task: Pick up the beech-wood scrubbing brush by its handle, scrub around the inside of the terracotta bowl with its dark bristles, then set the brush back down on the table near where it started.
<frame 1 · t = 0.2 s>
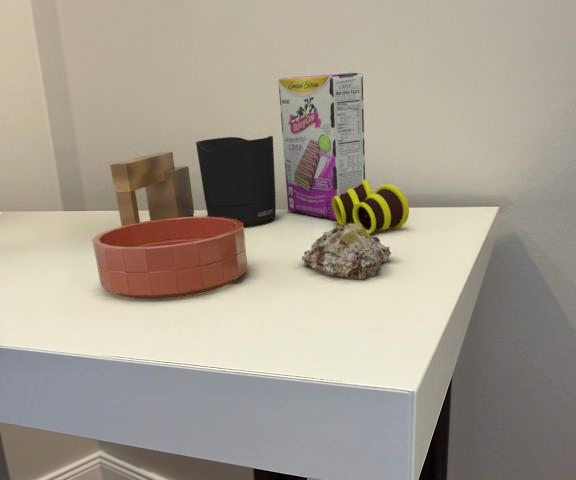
opera glasses: (367, 229, 75), on the table
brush: (158, 232, 82), on the table
candy bar box: (325, 215, 85), on the table
pen holder: (242, 223, 84), on the table
mineral rock: (347, 268, 60), on the table
bowl: (176, 280, 60), on the table
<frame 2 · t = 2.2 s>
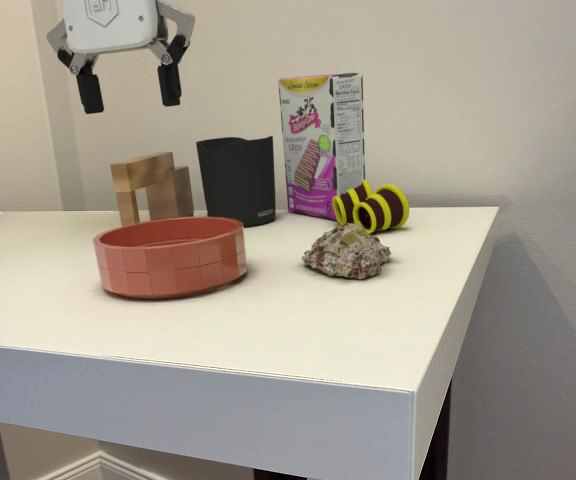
hand: (132, 109, 73), 14 cm above the table, tool pointing down, fingers open, 9 cm apart
nothing on the table moved.
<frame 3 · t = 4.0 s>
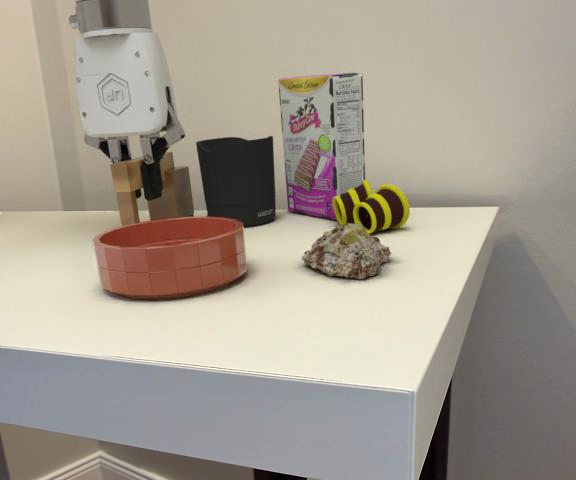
hand: (143, 197, 77), 5 cm above the table, tool pointing down, fingers closed on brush, 2 cm apart
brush: (158, 232, 82), on the table, touching gripper
everything else where it was.
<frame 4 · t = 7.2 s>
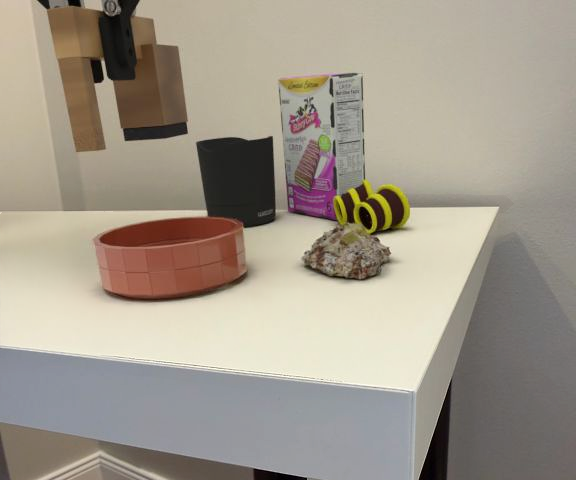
hand: (106, 79, 49), 17 cm above the table, tool pointing down, fingers closed on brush
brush: (132, 142, 53), point 12 cm above the table, touching gripper
everything else where it was.
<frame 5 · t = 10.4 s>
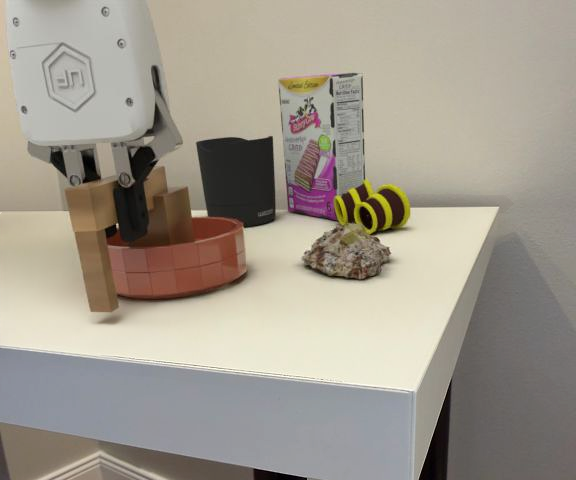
hand: (119, 236, 51), 6 cm above the table, tool pointing down, fingers closed on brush, 2 cm apart
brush: (143, 285, 55), point 1 cm above the table, touching gripper
everything else where it was.
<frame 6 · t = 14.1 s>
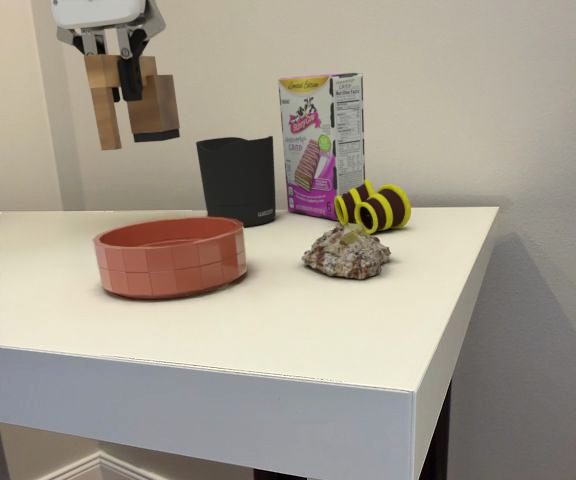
hand: (121, 100, 71), 15 cm above the table, tool pointing down, fingers closed on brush
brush: (140, 143, 75), point 11 cm above the table, touching gripper
everything else where it was.
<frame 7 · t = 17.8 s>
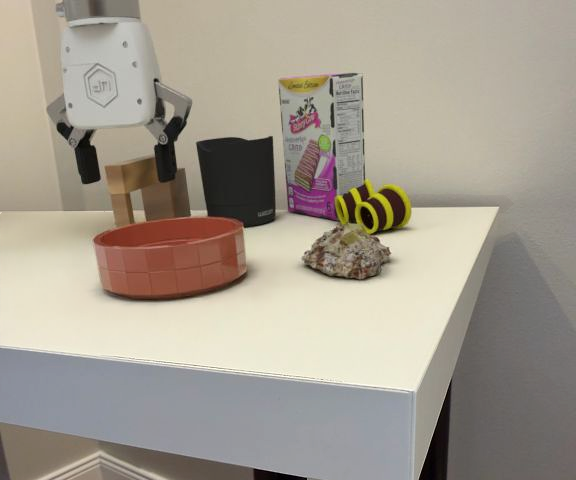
hand: (128, 181, 75), 7 cm above the table, tool pointing down, fingers open, 9 cm apart
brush: (154, 235, 80), on the table
everything else where it was.
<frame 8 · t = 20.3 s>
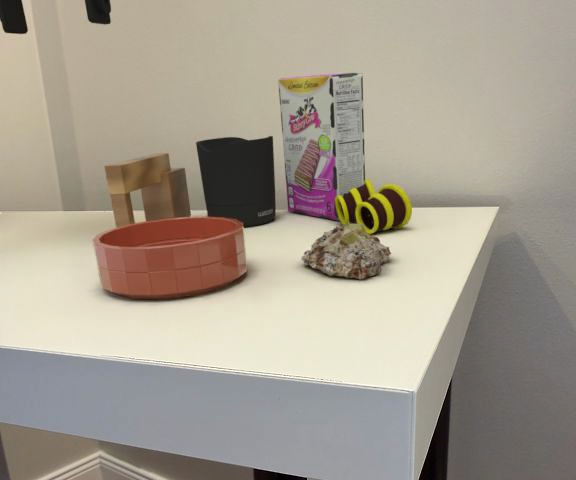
hand: (57, 28, 65), 22 cm above the table, tool pointing down, fingers open, 9 cm apart
nothing on the table moved.
at the end: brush inside the target area on the table beside the bowl (0.6 cm from its centre), on the table; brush tilted 0°; the gripper is holding nothing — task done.
